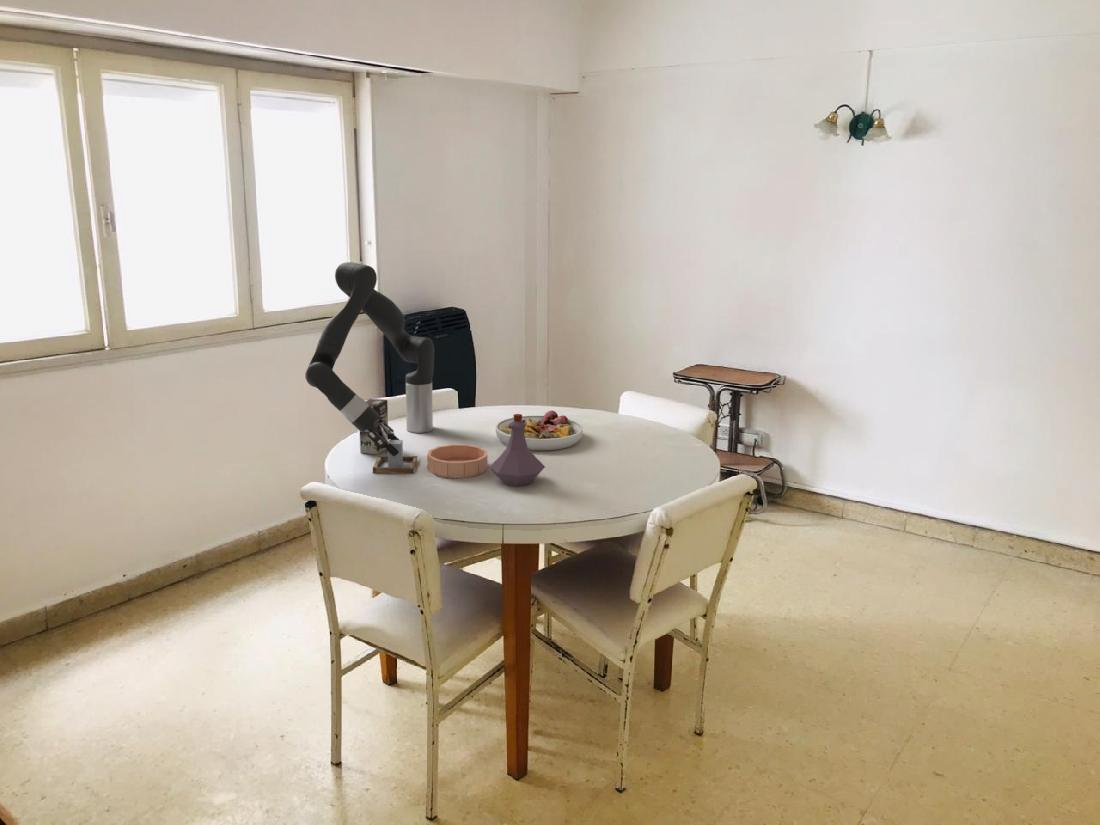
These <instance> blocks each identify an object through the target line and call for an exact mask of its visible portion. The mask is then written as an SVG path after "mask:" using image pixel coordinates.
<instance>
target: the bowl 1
mask: <svg viewBox="0 0 1100 825" xmlns="http://www.w3.org/2000/svg"><path fill="white" fill-rule="evenodd" d="M488 452H489V451H488V450H486V449H484V448H483V447H481V446H477V445H472V444H454V443H453V444H447V445H446V444H445V445H440V446H436V447H434V448H432V449H430V450H428V452H427V455H426V456H427V458H426V459H427V470H428V472H429V473H431V474H432V475H434V476H438V477H442V478H446V479H447V478H448V479H449V478H451V479H465V478H473V477H476V476H479V475H482V474H484V473H486V472H487V471H488V463H489V462H488V457H489V456H488V454H489V453H488Z"/></svg>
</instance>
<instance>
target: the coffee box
mask: <svg viewBox="0 0 1100 825" xmlns="http://www.w3.org/2000/svg"><path fill="white" fill-rule="evenodd" d="M364 401H365V402H366V403H367V404H368V405H370V406H371V407H372V408H373V409H374V410H375V411H376V412H377V413H378V414H379V417H378V418H377V419H376V420H377V421H378V420H379V419H382V420H383V421H384V422H385V423H386V424H387V425H388V426H389V419H388V418H389V414H388V413H389V412H388V410H389V409H388V404H389V403H388V399H382V398H381V399H379V398H369V399H366V400H364ZM369 433H370V432H369V431H368V430H365V431H364V432H360V431H359V453H361V454H370V455H379V454H380V453H382V452H383V451H385V450H386V449H380V448H379V447H378V446H377V445H376V444H375V443H374V442H373V441H372V440H371V439H370V438H369V437H368V436H367V435H368V434H369Z"/></svg>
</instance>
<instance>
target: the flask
mask: <svg viewBox="0 0 1100 825" xmlns="http://www.w3.org/2000/svg"><path fill="white" fill-rule="evenodd" d="M522 416H523V414H522V413H521V414H520V413H515V414H513V417H514V421H513V422H512V423H510V424H509V426H510V428H511V436H510V440H509V443H508V445H507V447H506V449H505V450H504V451H503V452H502V453H501V454H500V456H498V457H497V458H496V460H494V461H493V463H491V465H490V466H488V467H489V469H490V470H491V471H492V472H493V474H495V476H496V477H497V478H498V479H499V480H500V481H501V482H502V483H503V484H504V485H506V486H514V487H522V486H527V485H528V486H529V485H530V484H532V482H533V481H534V480H535V479H537V477H538V475H539V474H540V473H541V472H542V471H543V470H544V469H545V468H546V466H545V465H544V464H543V463H542V462H541V461H540V460H539V458H537V456H535V455H534V453H533V452H532V450H529V449H528V447H527V443H526V439H525V435H524V429H525V427H526V425H527V424H525V423H524V422H523V421H522Z"/></svg>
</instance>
